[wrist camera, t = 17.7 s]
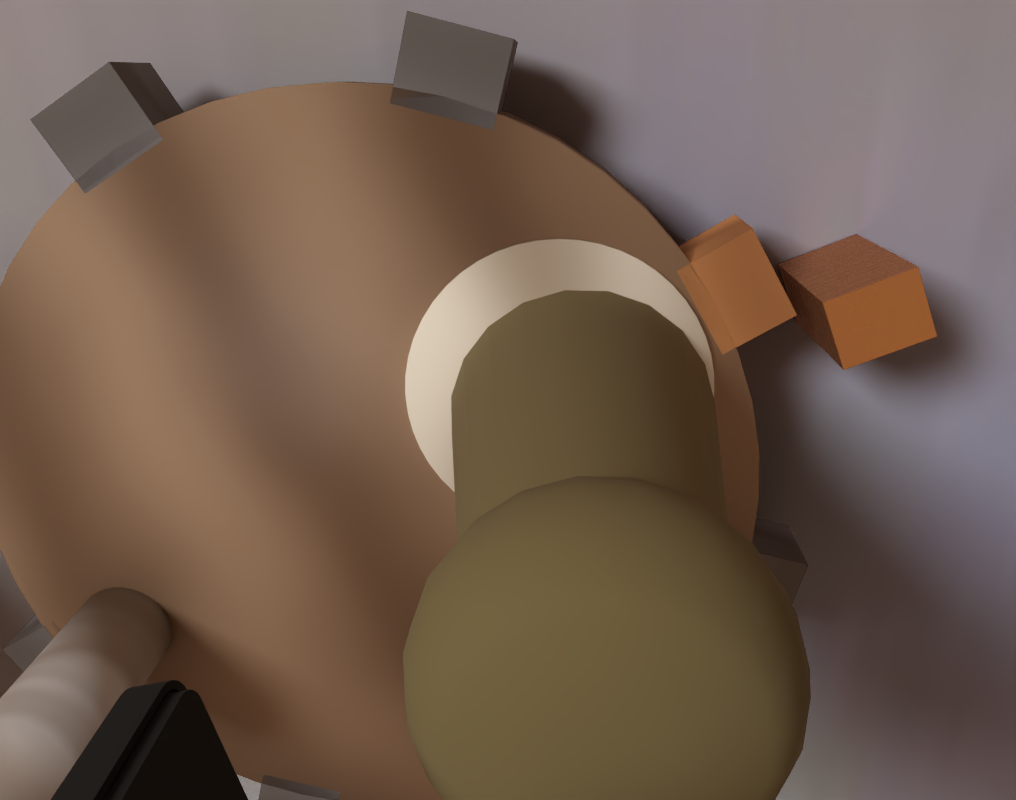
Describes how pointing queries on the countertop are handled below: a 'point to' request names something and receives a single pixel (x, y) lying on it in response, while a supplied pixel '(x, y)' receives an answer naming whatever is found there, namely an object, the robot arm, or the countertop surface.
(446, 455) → the sprocket wheel
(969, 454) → the countertop surface
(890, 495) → the countertop surface
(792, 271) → the orange wooden block
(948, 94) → the countertop surface
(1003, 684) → the countertop surface
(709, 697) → the cork
